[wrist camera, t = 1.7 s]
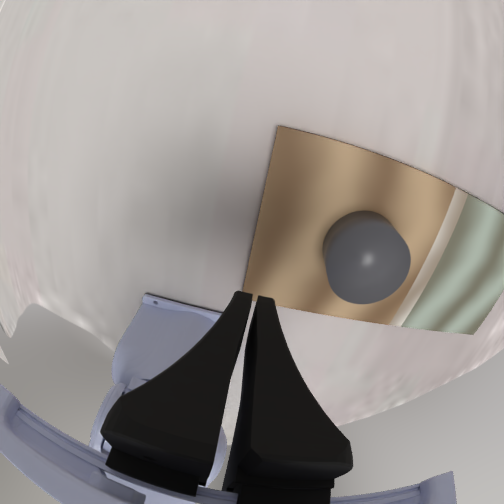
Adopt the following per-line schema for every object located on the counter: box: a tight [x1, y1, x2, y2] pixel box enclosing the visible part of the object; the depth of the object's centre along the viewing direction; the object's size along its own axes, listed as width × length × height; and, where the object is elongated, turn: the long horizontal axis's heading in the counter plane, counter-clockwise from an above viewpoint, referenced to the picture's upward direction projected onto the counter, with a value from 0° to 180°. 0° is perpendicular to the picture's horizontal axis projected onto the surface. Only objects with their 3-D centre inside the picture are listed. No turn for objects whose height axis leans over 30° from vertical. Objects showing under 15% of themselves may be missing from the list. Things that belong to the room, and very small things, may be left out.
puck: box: [322, 211, 411, 304], centre depth 18 cm, size 6×6×3 cm
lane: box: [242, 125, 504, 335], centre depth 20 cm, size 28×14×1 cm, turn 79°
